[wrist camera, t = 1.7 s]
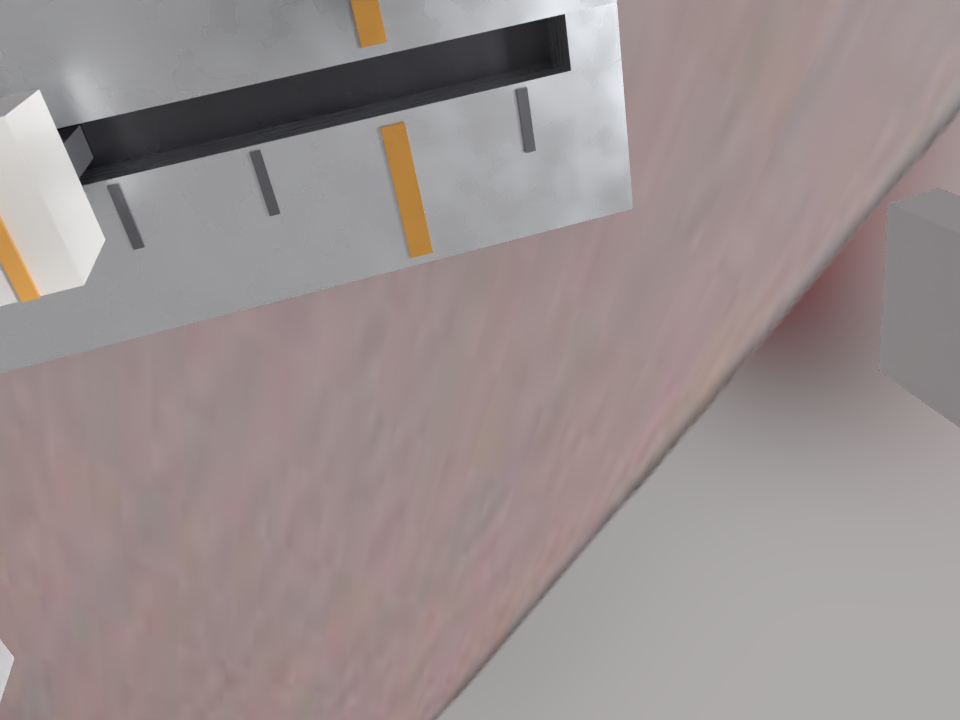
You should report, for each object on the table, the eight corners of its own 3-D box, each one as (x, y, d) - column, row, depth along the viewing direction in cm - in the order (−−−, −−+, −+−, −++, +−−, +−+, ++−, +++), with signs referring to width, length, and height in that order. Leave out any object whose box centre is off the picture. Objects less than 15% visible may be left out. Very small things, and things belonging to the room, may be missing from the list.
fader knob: (-24, 88, 28) (-117, 144, 21) (65, 69, 28) (3, 116, 21) (41, 223, 30) (-23, 313, 23) (122, 204, 31) (83, 287, 24)
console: (-275, -22, 25) (-327, -16, 23) (575, -186, 28) (603, -196, 26) (-48, 360, 32) (-71, 393, 30) (610, 191, 36) (634, 209, 33)
